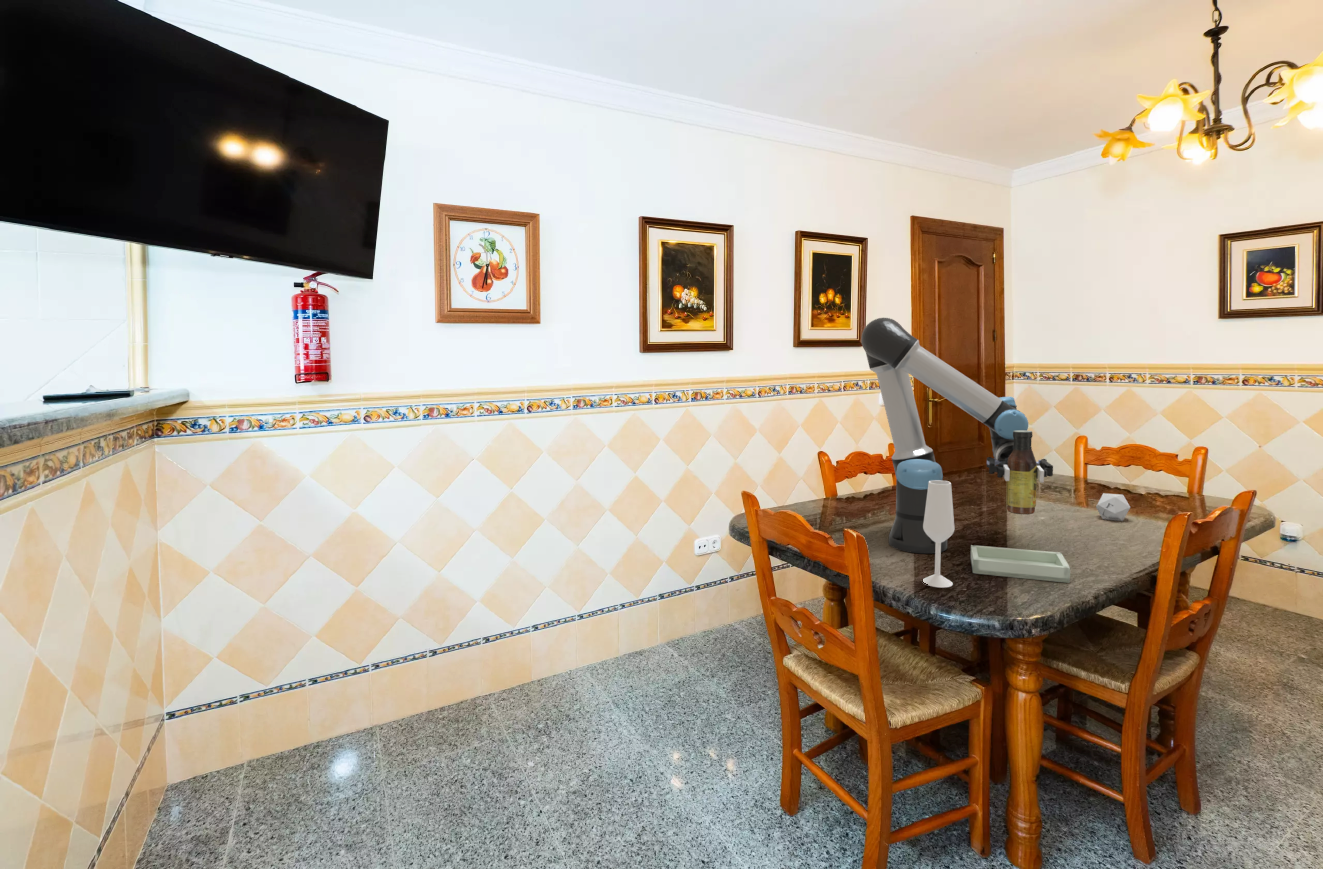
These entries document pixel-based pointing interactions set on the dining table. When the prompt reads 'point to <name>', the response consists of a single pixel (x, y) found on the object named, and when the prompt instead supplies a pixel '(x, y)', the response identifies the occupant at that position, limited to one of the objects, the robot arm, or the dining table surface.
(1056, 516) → the dining table surface
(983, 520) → the dining table surface
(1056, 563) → the tray
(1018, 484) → the sauce bottle
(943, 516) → the champagne flute
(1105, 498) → the die
